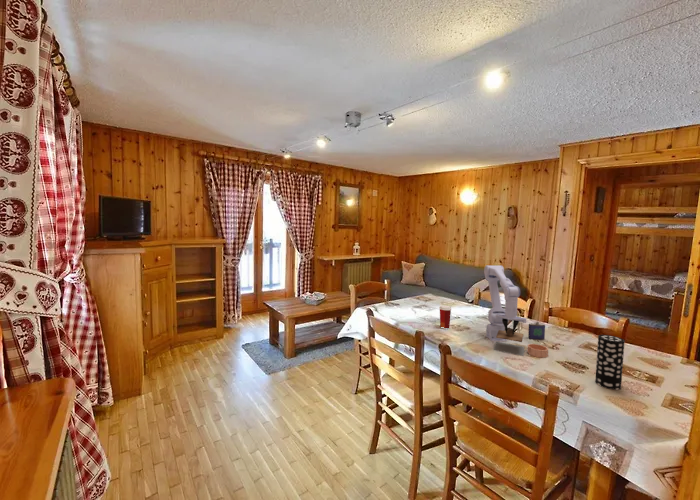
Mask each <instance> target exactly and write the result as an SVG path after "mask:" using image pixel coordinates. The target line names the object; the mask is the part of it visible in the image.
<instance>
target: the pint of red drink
mask: <svg viewBox="0 0 700 500" xmlns="http://www.w3.org/2000/svg"><path fill="white" fill-rule="evenodd" d="M438 309H439V325H440V326H441V327H444V328H449V329H450V324H451V323H450V322H451V316H452V314H451V311H452V308H451V306H450V305H443V304H442V305H439V308H438ZM441 327H440V328H441Z"/></svg>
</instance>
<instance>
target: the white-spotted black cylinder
mask: <svg viewBox="0 0 700 500" xmlns="http://www.w3.org/2000/svg"><path fill="white" fill-rule="evenodd" d="M624 351H625V339H624V338H621V337H618V336H615V335H609V334H599V335H598V336H597V351H596V363H595V379H594V383H595V384H597V385H598V384H599V385H598V386H600V385H601V386H600V387H602V386H603V388H604V389H605V388H606V389H608V390H609V389H610V390H614V391H618V390H621V389H622V380H623V369H624V368H623V365H624V356H625V355H624V353H625V352H624Z"/></svg>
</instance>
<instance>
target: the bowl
mask: <svg viewBox="0 0 700 500" xmlns="http://www.w3.org/2000/svg"><path fill="white" fill-rule="evenodd" d="M527 354H528V355H530V356H532V357H536V358H545V359H546V358H548V356H549V348H548V347H547V346H545V345H541V344H538V343H537V344H536V343H529V344H527Z"/></svg>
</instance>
